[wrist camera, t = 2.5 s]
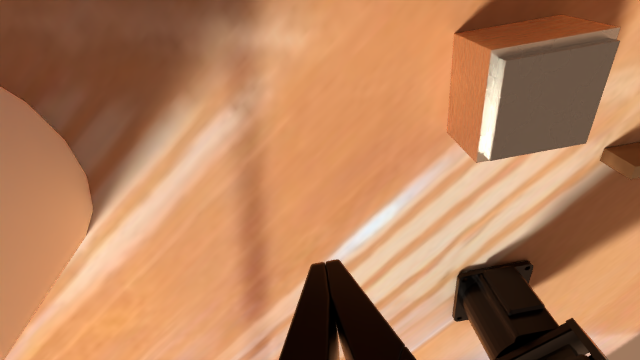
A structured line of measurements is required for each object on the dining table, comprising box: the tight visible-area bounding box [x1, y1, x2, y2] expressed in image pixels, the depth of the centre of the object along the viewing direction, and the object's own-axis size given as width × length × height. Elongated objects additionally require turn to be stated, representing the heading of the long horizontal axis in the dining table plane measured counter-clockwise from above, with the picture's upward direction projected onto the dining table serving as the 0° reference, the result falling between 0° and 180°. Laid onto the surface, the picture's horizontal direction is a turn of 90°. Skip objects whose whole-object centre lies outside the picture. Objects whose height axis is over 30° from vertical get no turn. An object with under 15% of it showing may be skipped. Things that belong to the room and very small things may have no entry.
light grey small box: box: [447, 15, 620, 163], centre depth 19 cm, size 6×6×5 cm
